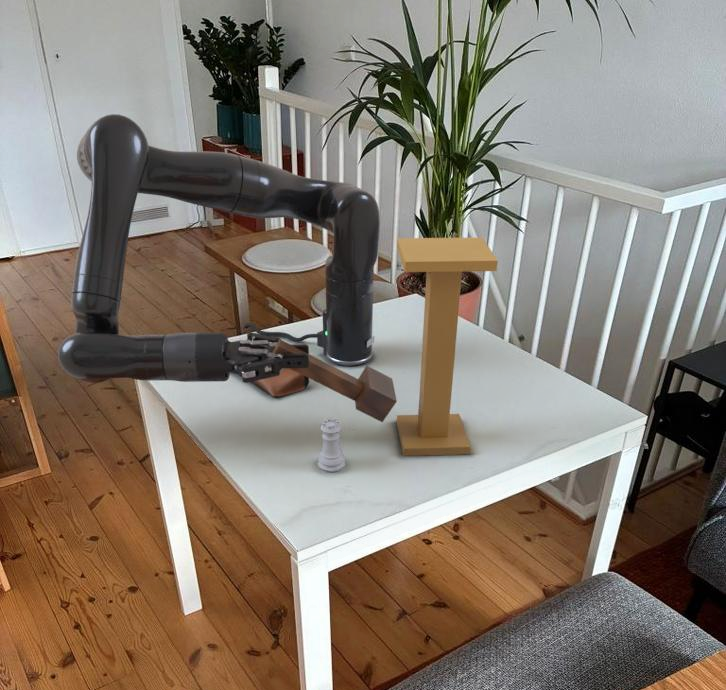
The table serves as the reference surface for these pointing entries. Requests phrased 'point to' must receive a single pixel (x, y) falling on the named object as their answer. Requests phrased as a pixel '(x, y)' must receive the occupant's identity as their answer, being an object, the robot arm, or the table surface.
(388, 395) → the walnut mallet
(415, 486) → the table surface
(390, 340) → the table surface
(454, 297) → the pedestal
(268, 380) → the sunglasses case
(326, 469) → the rook chess piece
